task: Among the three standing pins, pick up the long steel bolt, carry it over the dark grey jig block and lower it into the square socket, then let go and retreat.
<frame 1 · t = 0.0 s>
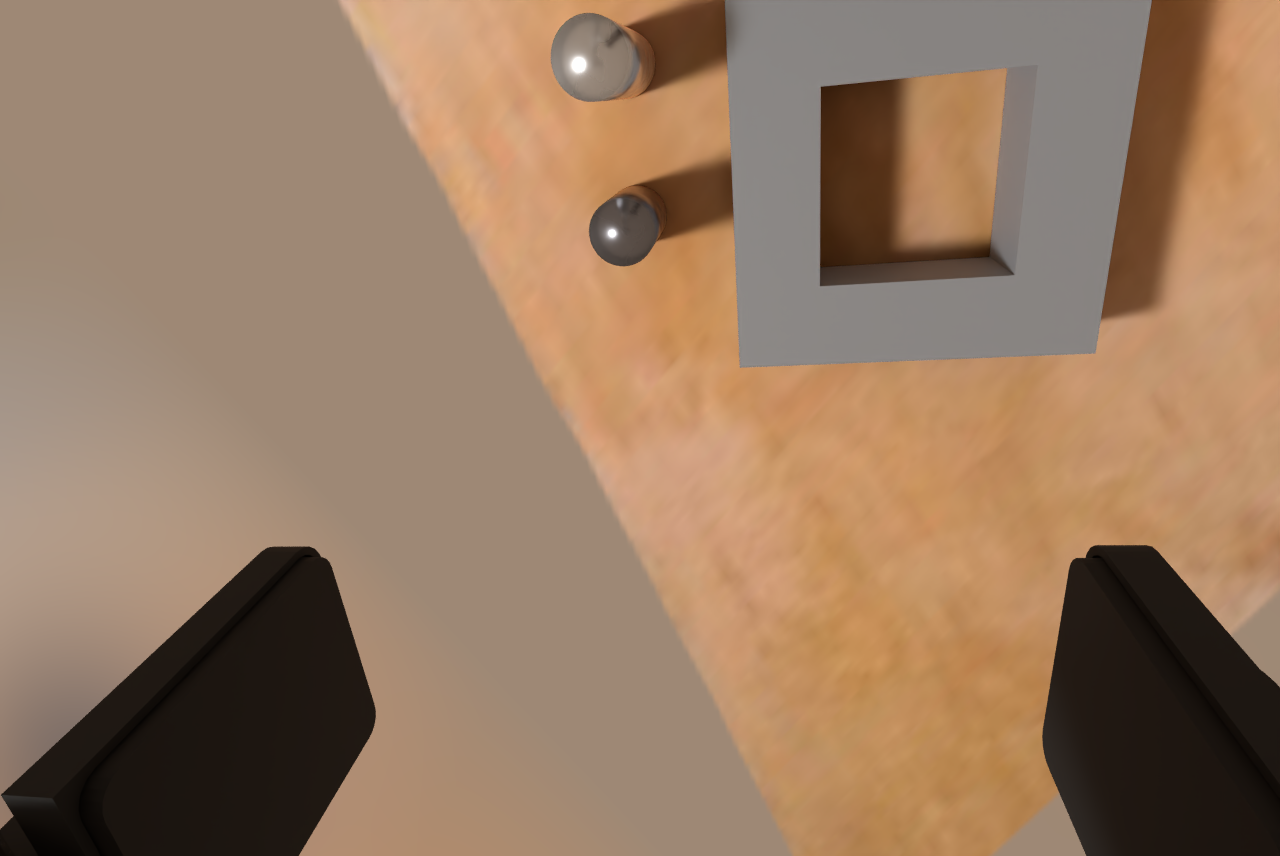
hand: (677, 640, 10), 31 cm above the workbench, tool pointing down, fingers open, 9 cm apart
jig: (904, 174, 36), on the workbench
pin short: (637, 215, 38), on the workbench
pin mid: (623, 64, 35), on the workbench
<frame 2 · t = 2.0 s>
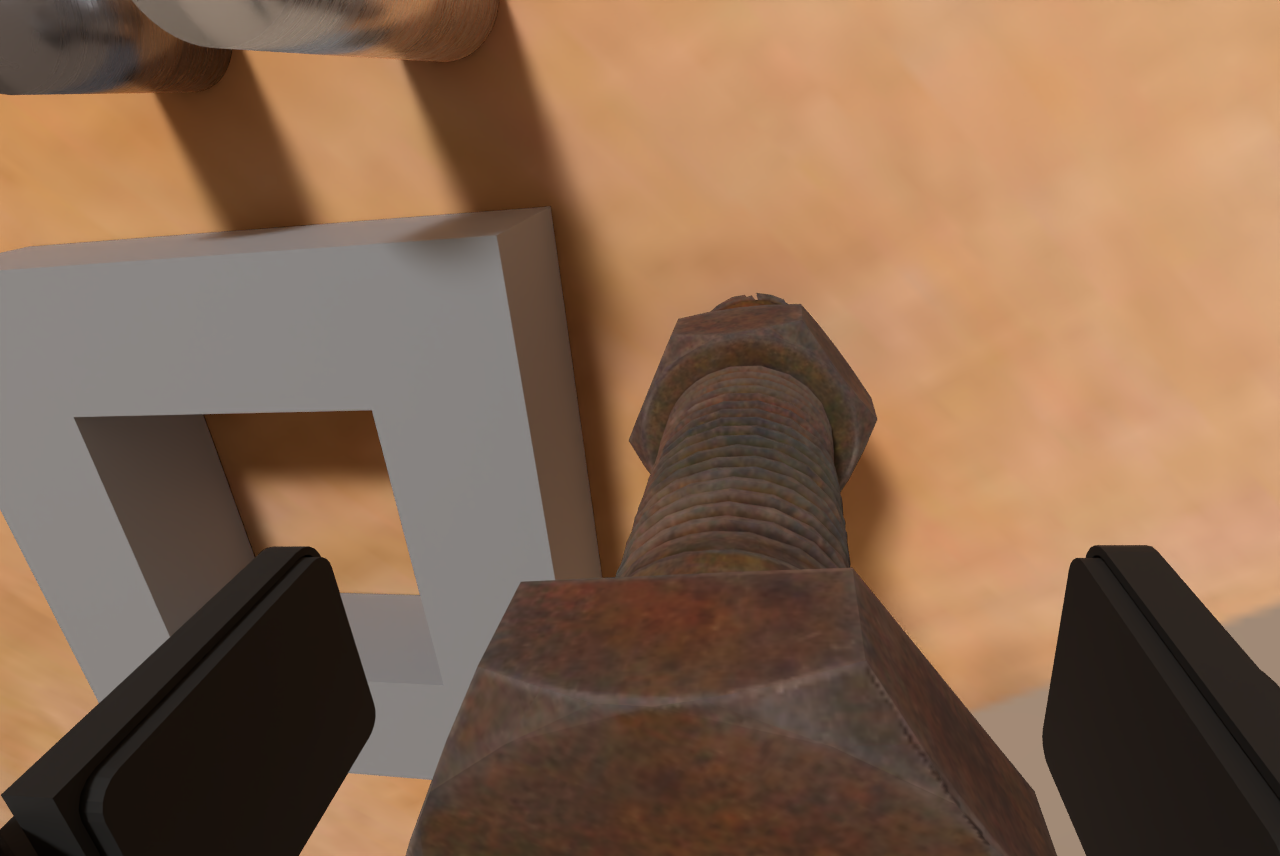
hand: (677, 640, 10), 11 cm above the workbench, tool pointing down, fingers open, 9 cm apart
jig: (344, 485, 24), on the workbench
bolt: (756, 347, 20), on the workbench
pin short: (176, 26, 19), on the workbench
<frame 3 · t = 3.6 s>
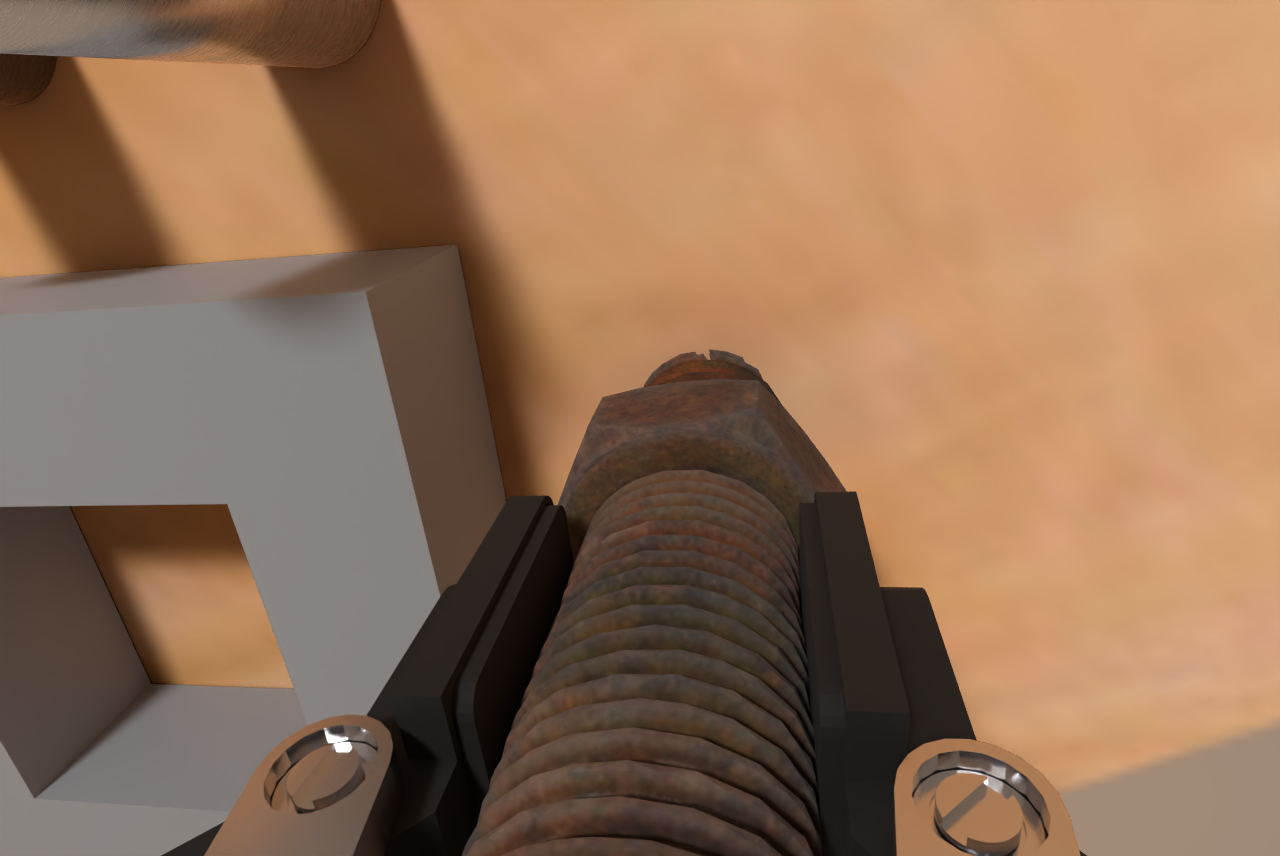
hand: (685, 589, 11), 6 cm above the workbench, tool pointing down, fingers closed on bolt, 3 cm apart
jig: (232, 567, 20), on the workbench
bolt: (711, 411, 16), on the workbench, touching gripper
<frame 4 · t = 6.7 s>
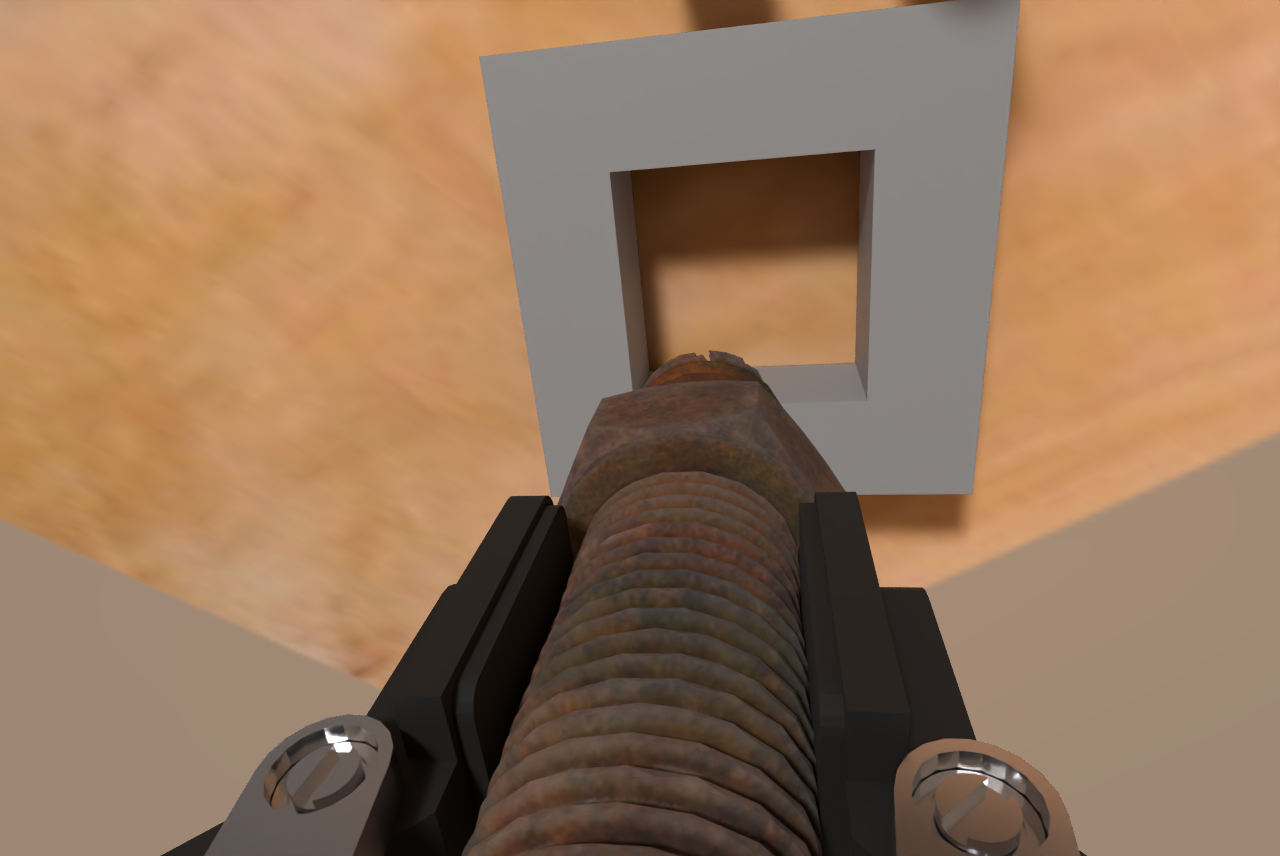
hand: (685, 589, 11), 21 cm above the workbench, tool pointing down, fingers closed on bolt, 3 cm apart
jig: (746, 265, 29), on the workbench
bolt: (711, 412, 16), point 14 cm above the workbench, touching gripper
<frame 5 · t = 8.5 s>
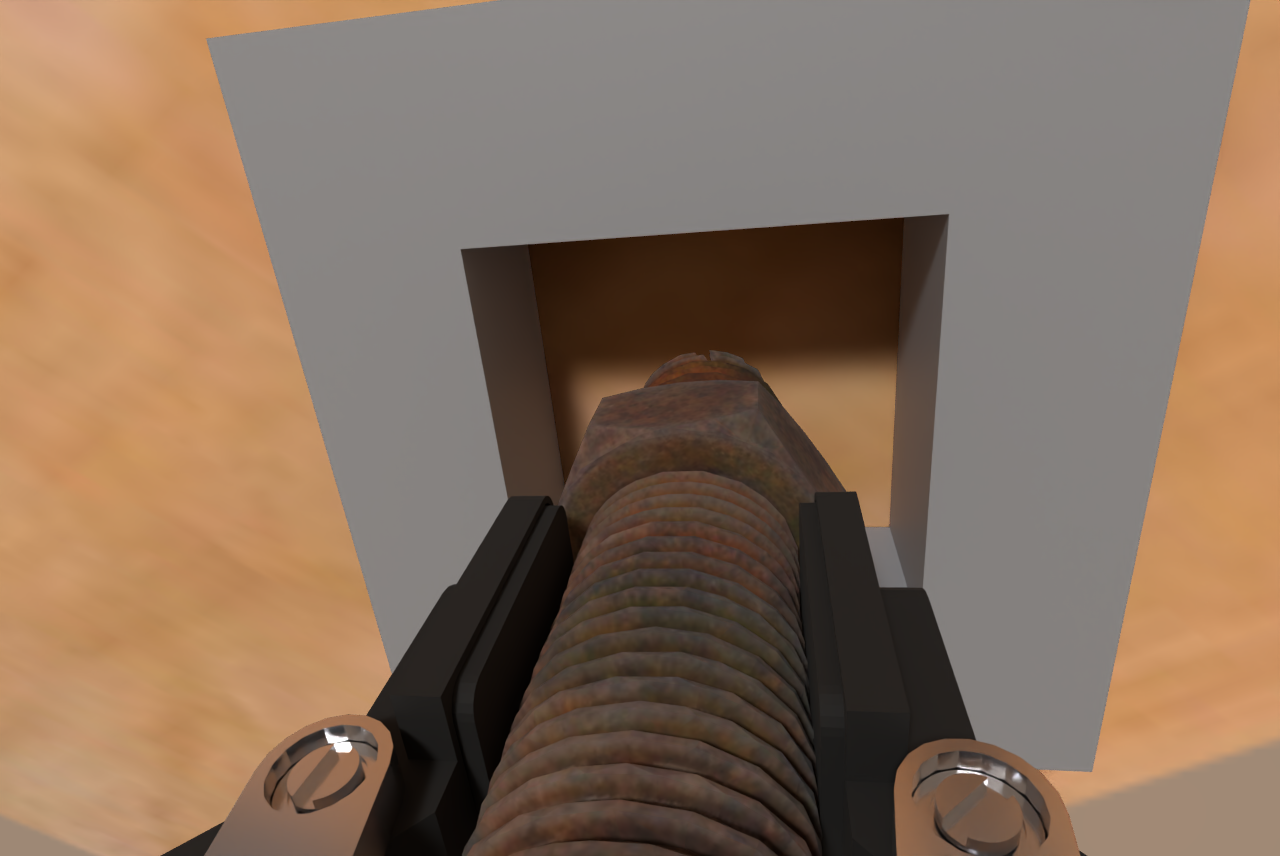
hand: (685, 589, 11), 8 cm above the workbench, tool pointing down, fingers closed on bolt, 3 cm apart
jig: (716, 379, 18), on the workbench
bolt: (711, 411, 16), point 2 cm above the workbench, touching gripper
when the fingers open (7 cm above the workbench, at t = 9.7 s): bolt stays where it is, resting in jig.
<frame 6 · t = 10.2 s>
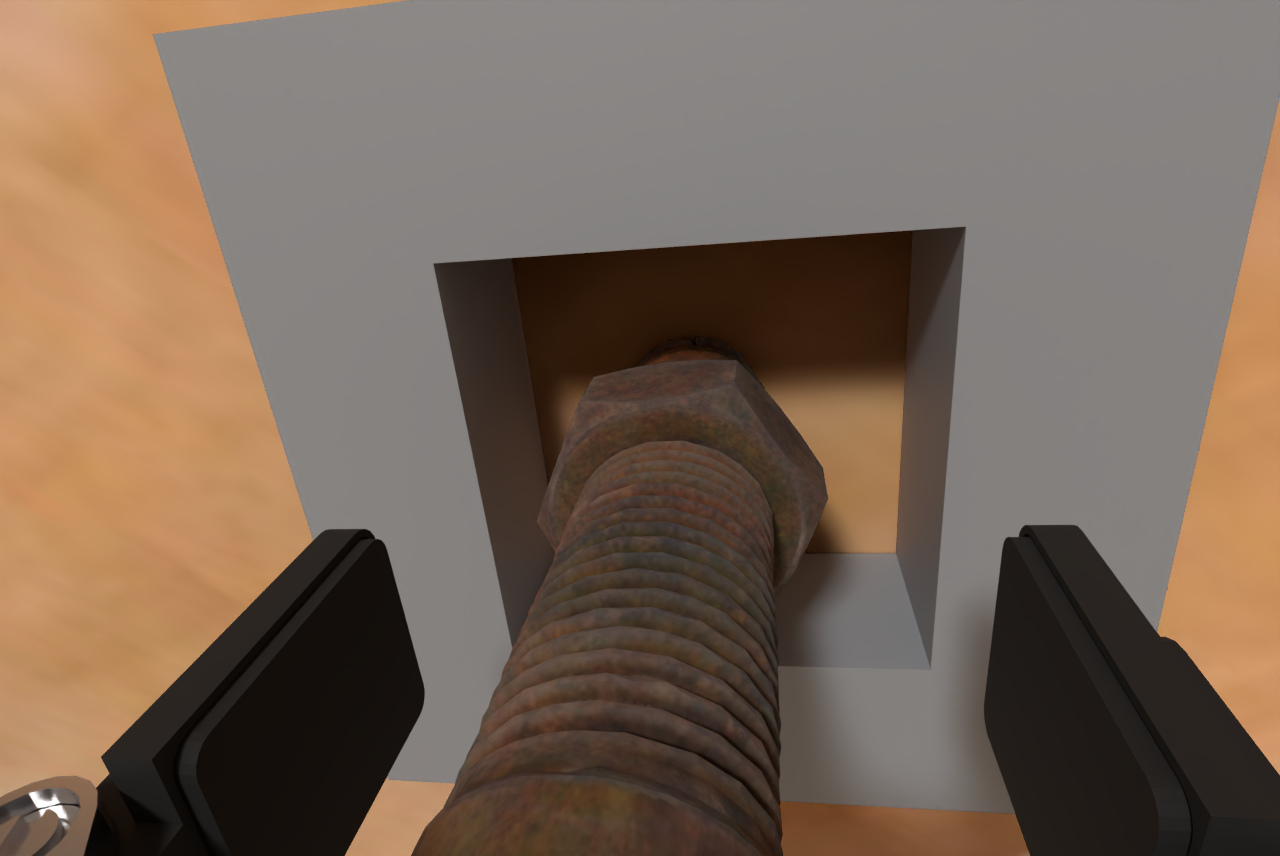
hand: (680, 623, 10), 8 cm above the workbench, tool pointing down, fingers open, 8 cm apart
jig: (712, 398, 17), on the workbench
bolt: (698, 394, 17), resting in jig
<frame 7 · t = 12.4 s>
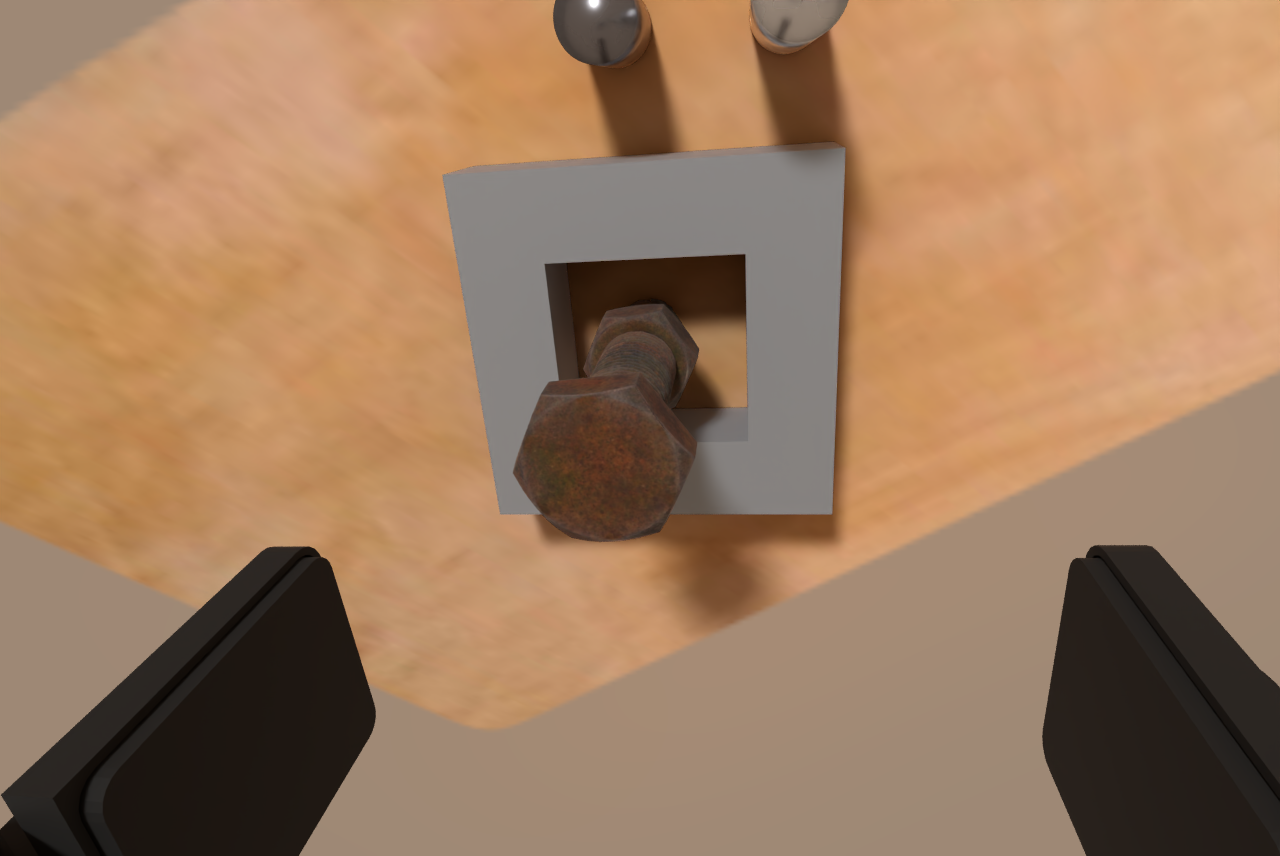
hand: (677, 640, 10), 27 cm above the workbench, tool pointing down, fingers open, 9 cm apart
jig: (658, 329, 36), on the workbench
bolt: (652, 327, 36), resting in jig
pin short: (615, 28, 31), on the workbench
pin mid: (786, 12, 30), on the workbench
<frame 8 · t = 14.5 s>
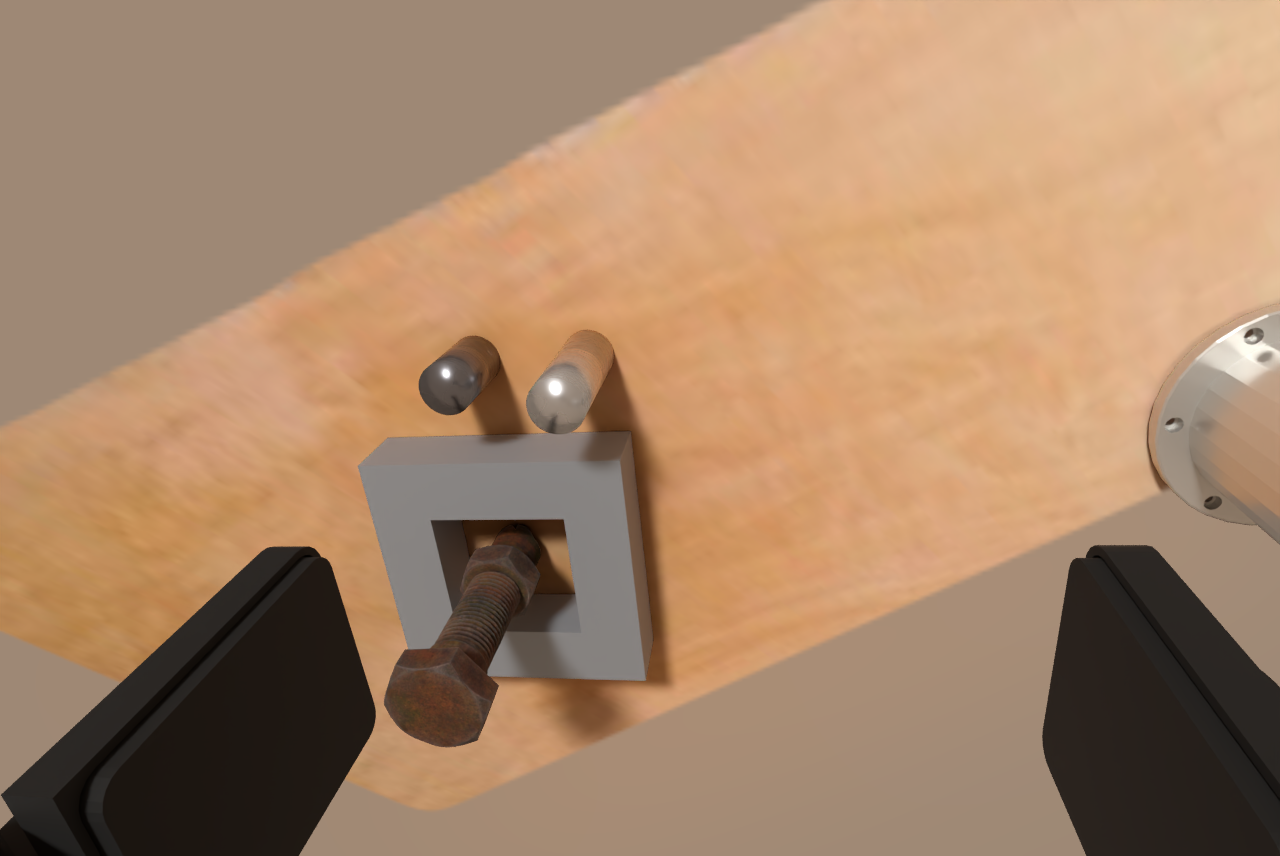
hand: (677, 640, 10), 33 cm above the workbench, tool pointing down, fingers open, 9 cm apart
jig: (525, 542, 50), on the workbench
bolt: (521, 540, 50), resting in jig
pin short: (476, 359, 45), on the workbench
pin mid: (589, 354, 44), on the workbench
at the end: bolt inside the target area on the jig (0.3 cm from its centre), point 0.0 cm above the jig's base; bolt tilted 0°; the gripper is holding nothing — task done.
